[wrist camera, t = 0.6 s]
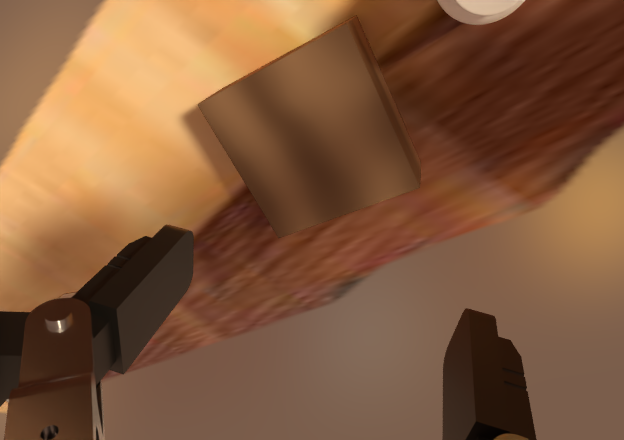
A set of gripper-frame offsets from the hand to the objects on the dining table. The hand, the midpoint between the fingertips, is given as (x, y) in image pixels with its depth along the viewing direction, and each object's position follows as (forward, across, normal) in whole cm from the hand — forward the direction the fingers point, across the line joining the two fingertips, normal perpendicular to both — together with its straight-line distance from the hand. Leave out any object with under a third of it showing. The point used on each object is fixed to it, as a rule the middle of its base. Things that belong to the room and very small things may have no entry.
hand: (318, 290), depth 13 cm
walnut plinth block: (+25, +5, +4) cm, 26 cm away
